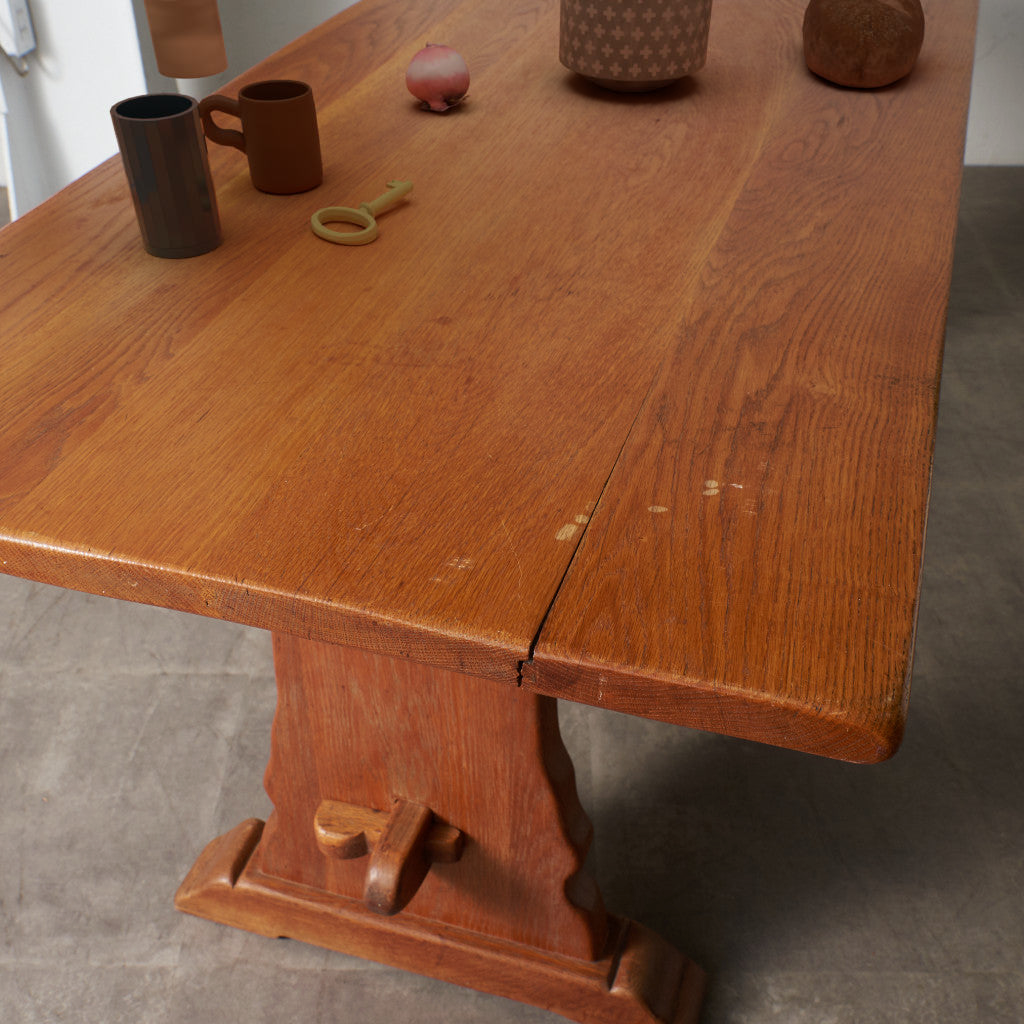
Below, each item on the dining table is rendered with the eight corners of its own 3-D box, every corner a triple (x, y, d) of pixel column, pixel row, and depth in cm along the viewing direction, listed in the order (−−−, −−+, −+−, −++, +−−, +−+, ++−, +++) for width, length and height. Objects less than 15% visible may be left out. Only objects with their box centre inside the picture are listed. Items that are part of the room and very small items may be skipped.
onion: (473, 97, 129) (471, 36, 124) (469, 117, 123) (467, 54, 118) (410, 96, 129) (407, 36, 124) (404, 116, 123) (399, 54, 118)
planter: (730, 95, 129) (751, -66, 117) (595, 114, 124) (604, -53, 112) (659, 56, 143) (672, -92, 131) (536, 71, 137) (538, -82, 126)
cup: (130, 255, 93) (94, 118, 85) (163, 223, 99) (132, 91, 91) (206, 261, 92) (177, 122, 84) (235, 227, 98) (210, 94, 90)
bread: (796, 89, 131) (812, -7, 124) (798, 30, 153) (813, -55, 146) (921, 97, 128) (946, 0, 121) (906, 36, 150) (925, -50, 143)
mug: (205, 200, 103) (186, 105, 97) (213, 172, 109) (195, 81, 103) (323, 194, 104) (312, 100, 98) (325, 166, 110) (313, 77, 104)
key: (417, 199, 103) (416, 178, 102) (367, 249, 94) (364, 227, 93) (354, 190, 105) (351, 170, 104) (298, 239, 96) (295, 218, 95)
